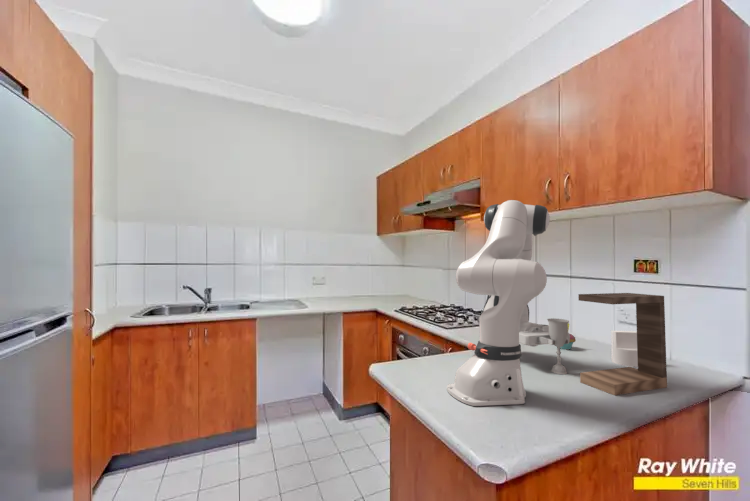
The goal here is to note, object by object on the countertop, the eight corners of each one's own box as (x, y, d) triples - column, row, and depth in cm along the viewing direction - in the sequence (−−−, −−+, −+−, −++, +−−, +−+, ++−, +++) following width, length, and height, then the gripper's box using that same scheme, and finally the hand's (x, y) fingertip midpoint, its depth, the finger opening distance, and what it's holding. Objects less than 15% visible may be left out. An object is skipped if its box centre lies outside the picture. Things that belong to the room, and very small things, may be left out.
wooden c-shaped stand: (614, 395, 94) (612, 297, 95) (580, 382, 105) (578, 294, 106) (667, 387, 101) (664, 295, 102) (629, 375, 111) (627, 292, 112)
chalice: (573, 376, 110) (572, 322, 111) (551, 374, 112) (550, 321, 113) (565, 369, 118) (564, 318, 118) (545, 368, 119) (544, 318, 120)
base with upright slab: (630, 360, 130) (630, 329, 130) (647, 367, 121) (646, 334, 122) (606, 359, 131) (605, 329, 131) (621, 366, 122) (620, 333, 122)
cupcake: (570, 346, 151) (570, 320, 152) (579, 351, 143) (578, 323, 143) (550, 345, 152) (550, 319, 153) (558, 350, 144) (557, 323, 145)
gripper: (508, 327, 125) (536, 334, 111) (551, 324, 131) (582, 331, 118) (508, 344, 124) (536, 353, 111) (551, 340, 130) (582, 349, 117)
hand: (560, 342), depth 114 cm, fingers closed on chalice, 5 cm apart
